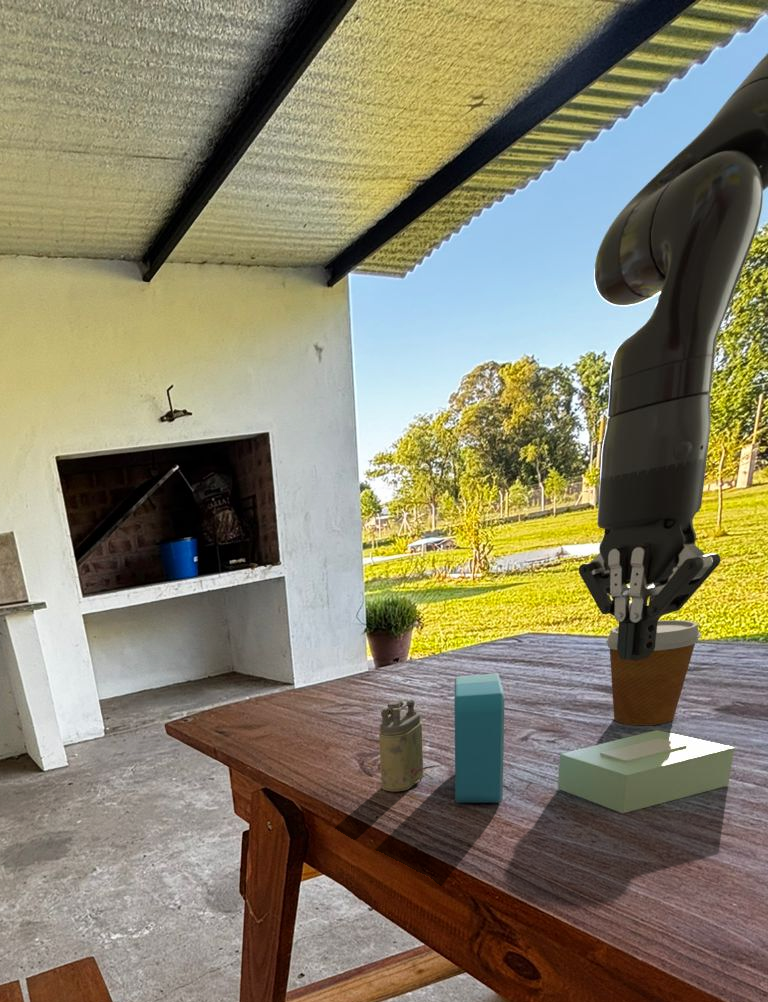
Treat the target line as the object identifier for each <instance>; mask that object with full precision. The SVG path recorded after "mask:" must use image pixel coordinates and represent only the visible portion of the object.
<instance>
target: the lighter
mask: <svg viewBox="0 0 768 1002" xmlns="http://www.w3.org/2000/svg"><path fill="white" fill-rule="evenodd" d="M406 707H407V711H403V709H405V708H406ZM380 715H381V719H382V720H381V723H380V724H379V733H378V739H379V740H378V741H379V758H380V777H381V784H380V788H381V789H382V790H383V791H386V792H403V791H404V792H405V791H407V790H409V789H411V788H412V787H413V786H414V785H418V784H420V783H421V779H423V778H424V777H425V772H424V748H423V747H424V745H423V722H422V721H421V713H420V712H419V711H416V710H415V700H413V699H410V700H407V701H406V703H405V704H404V702H403V700H398V701H391V702H389V703H387V708H383V709H382V710H381V711H380Z"/></svg>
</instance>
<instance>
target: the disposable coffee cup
mask: <svg viewBox="0 0 768 1002" xmlns="http://www.w3.org/2000/svg"><path fill="white" fill-rule="evenodd" d="M698 625H699V624H698V623H697V622H696V621H691V620H684V619H683V620H682V619H679V620H678V619H674V620H672V619H670V620H669V619H668V620H667V619H666V620H658V623H657V633H656V641H655V642H656V643H655V649H654V651H653V653H651V655H650V656H649V657H648V658H646V659H641V660H637V661H631V660H623V659H620V658H619V653H618V650H617V642H618V628H619V625H618V626H615V627H613V628H611V630H610V632H609V634H608V637H607V638H605V643H606V644H607V648H608V649H609V660H610V673H611V691H612V705H613V707H612V708H613V719H614V721H616V722H617V723H620V724H624V725H631V726H656V725H664V724H667V723H670V722H672V721H673V720H674V719H675V715H676V711H677V708H678V704H679V701H680V697H681V694H682V692H683V688H684V683H685V681H686V676H687V674H688V670H689V667H690V663H691V659H692V656H693V651H694V647H695V645H696V644H697V643H698V641H699V639H701V636H702V633H701V632H700V631H699V626H698Z"/></svg>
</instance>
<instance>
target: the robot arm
mask: <svg viewBox="0 0 768 1002" xmlns="http://www.w3.org/2000/svg"><path fill="white" fill-rule="evenodd" d="M767 188H768V52H767V53H766V54H765V55H764V57H762V59H760V61H759V62H758V63H757V65H755V67H754V68H753V69H752V70H751V71H750V73H749V74H748V75H747V76H746V78H744V80H743V81H742V82H741V84H740V85H739V86H738V87H737V89H735V90H734V92H733V93H732V94H731V96H730V97H729V98H728V99H727V100H726V102H725V103H724V104H723V105H722V107H721V108H720V109H719V111H718V112H717V113H715V116H714V117H713V118H712V119H711V120H710V122H709V124H708V125H706V127H704V129H703V130H702V131H701V132H700V133H699V134H698V135H697V136H696V137H695V138H694V139H692V141H691V142H690V143H689V144H687V146H685V147H684V148H683V149H681V151H680V152H679V153H678V154H677V155H675V157H673V159H671V160H670V161H669V162H668V163H667V164H666V165H665V166H664V167H663V168H662V169H661V170H660V171H659V172H658V173H657V174H656V175H655V176H654V177H653V178H652V179H651V180H650V181H649V182H647V183H646V184H645V186H644V187H643V188H642V189H641V190H639V191H638V192H637V193H636V195H635V196H633V198H631V200H630V201H629V202H627V204H626V205H625V206H624V207H623V209H622V210H621V211H620V212H619V213H618V214H617V216H616V217H615V219H614V220H613V221H612V223H611V225H610V226H609V227H608V229H607V231H606V233H605V234H604V236H603V238H602V240H601V242H600V245H599V247H598V250H597V254H596V257H595V261H594V270H593V279H594V286H595V289H596V291H597V293H598V294H599V296H600V297H601V298H602V299H603V300H604V301H605V302H606V303H608V304H610V305H613V306H618V307H629V306H634V305H638V304H642V303H644V302H647V301H648V300H651V299H652V298H654V297H657V296H658V299H657V302H656V304H655V307H654V309H653V312H652V314H651V316H650V318H648V320H647V321H646V323H644V324H643V325H642V326H641V327H640V328H639V329H638V330H636V331H634V333H633V334H631V335H630V336H629V337H628V336H627V338H626V339H625V340H623V341H622V342H621V343H620V344H619V345H618V347H617V348H616V350H615V351H614V353H613V356H612V359H611V365H610V372H609V390H608V406H607V419H606V427H605V432H604V436H603V442H602V448H601V458H600V459H601V460H600V475H599V489H598V490H599V491H598V504H597V506H598V508H597V521H596V522H597V523H596V524H597V527H598V528H599V529H602V530H604V533H603V538H602V539H601V542H600V544H599V547H598V548H599V549H598V550H599V553H597V555H595V557H593V559H592V560H591V561H589V562H585V563H582V564H580V565H579V567H578V574H579V576H580V578H581V579H582V581H583V583H584V585H585V586H586V588H587V590H588V592H589V594H590V595H591V597H592V599H593V601H594V602H595V604H596V606H597V608H598V609H599V611H600V613H601V615H611V616H613V617H614V619H615V621H616V622H618V626H619V628H618V642H617V650H618V653H619V658H620V659H623V660H631V661H637V660H641V659H646V658H648V657H649V656H650V655H651V653H653V651H654V649H655V643H656V642H655V641H656V633H657V623H658V621H660V618H661V617H663V616H666V615H668V614H671V613H675V612H678V611H680V610H681V609H682V608H683V607H684V606H685V604H686V603H687V602H688V601H689V600H690V598H691V597H693V595H694V594H695V593H696V592H697V591H698V589H699V588H700V587H701V586H702V585H703V583H705V581H706V580H707V579H708V578H709V577H710V576H711V574H712V573H713V572H714V571H715V569H716V568H718V566H719V565H720V563H721V560H722V558H721V555H720V554H718V553H715V552H713V553H709V554H707V553H705V552H704V551H702V550H701V549H700V548H699V547H698V546H697V545H696V541H697V533H696V530H695V528H694V523H693V521H694V518H695V515H696V514H697V513H699V512H700V510H701V507H702V504H703V496H704V495H703V494H704V488H705V487H704V486H705V477H706V471H707V462H708V461H707V460H708V452H709V444H710V434H711V425H712V418H711V417H712V415H711V392H712V385H713V384H712V383H713V376H714V368H715V367H714V366H715V358H716V346H717V339H718V336H719V332H720V330H721V327H722V324H723V321H724V319H725V316H726V314H727V312H728V309H729V307H730V305H731V301H732V299H733V297H734V294H735V290H736V288H737V285H738V283H739V279H740V276H741V274H742V271H743V269H744V267H745V263H746V261H747V258H748V256H749V253H750V251H751V248H752V245H753V243H754V239H755V237H756V233H757V230H758V228H759V223H760V219H761V214H762V209H763V197H764V191H765V190H766V189H767ZM648 600H649V601H648Z"/></svg>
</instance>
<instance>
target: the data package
mask: <svg viewBox="0 0 768 1002" xmlns="http://www.w3.org/2000/svg"><path fill="white" fill-rule="evenodd" d="M502 686H503V685H502V682H501V678H500V675H499V673H496V672H495V673H486V674H474V675H473V674H471V675H461V676H460V675H459V676H456V677H454V795H455V796H454V798H455V799H454V801H455V802H456V803H457V804H482V803H483V804H486V803H487V804H488V803H489V804H490V803H491V804H492V803H493V804H494V803H495V804H497V803H501V802H502V801H503V797H504V795H503V794H504V755H505V754H504V751H505V748H504V747H505V693H504V689H503V687H502Z"/></svg>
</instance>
